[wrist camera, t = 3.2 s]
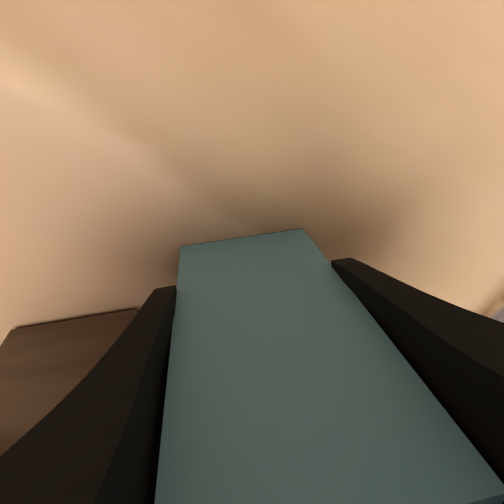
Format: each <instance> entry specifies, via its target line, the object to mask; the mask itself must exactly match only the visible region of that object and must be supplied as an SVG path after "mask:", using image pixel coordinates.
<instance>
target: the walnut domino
mask: <svg viewBox="0 0 504 504" xmlns="http://www.w3.org/2000/svg"><path fill="white" fill-rule="evenodd" d="M137 313H138V309H133V310H127V311H121V312H115V313H109V314H103V315H97V316H91V317H85V318H79V319H73V320H67V321H61V322H55V323H49V324H43V325H37V326H31V327H25V328H19V329H13V330H11V331H10V332H9V334H8V335H7V337H6V338H5V340H4V342H3V343H2V345H1V346H0V456H1V455H2V454H3V453H5V452H6V451H7V450H8V449H9V448H10V447H11V446H12V445H14V444H15V443H16V442H17V441H18V440H19V439H20V438H21V437H22V436H24V435H25V434H26V433H27V432H28V431H29V430H30V429H31V428H32V427H34V426H35V425H36V424H37V423H38V422H39V421H40V420H41V419H42V418H44V417H45V416H46V415H47V414H48V413H49V412H50V411H51V410H52V409H53V408H54V407H55V406H56V405H58V404H59V403H60V402H61V401H62V400H63V399H64V398H65V397H66V396H67V395H68V394H69V393H70V392H71V391H72V390H73V389H74V388H75V387H76V386H77V385H78V383H79V382H80V381H81V380H82V379H83V378H84V377H85V376H86V375H87V374H88V373H89V372H90V371H91V370H92V369H93V367H94V366H95V365H96V364H97V363H98V362H99V360H100V359H101V358H102V357H103V356H104V354H105V353H106V352H107V351H108V350H109V349H110V347H111V346H112V345H113V344H114V343H115V341H116V340H117V339H118V338H119V336H120V335H121V334H122V332H123V331H124V330H125V328H126V327H127V326H128V325H129V323H130V322H131V321H132V319H133V318H134V317H135V315H136V314H137Z"/></svg>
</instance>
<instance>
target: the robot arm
mask: <svg viewBox="0 0 504 504" xmlns="http://www.w3.org/2000/svg"><path fill="white" fill-rule="evenodd" d="M331 267H332V268H333V269H334V270H335V272H336V273H337V274H338V276H339V277H340V278H341V279H342V281H343V282H344V283H345V284H346V286H347V287H348V288H349V289H350V290H351V291H352V292H353V293H354V294H355V295H356V297H357V298H358V299H359V301H360V302H361V303H362V304H363V306H364V307H365V308H366V309H367V311H368V312H369V313H370V315H371V316H372V317H373V318H374V320H375V321H376V322H377V323H378V325H379V326H380V327H381V329H382V330H383V331H384V332H385V334H386V335H387V336H388V338H389V339H390V340H391V341H392V343H393V344H394V345H395V346H396V348H397V349H398V350H399V352H400V353H401V354H402V355H403V357H404V358H405V359H406V360H407V362H408V363H409V364H410V366H411V367H412V368H413V369H414V371H415V372H416V373H417V375H418V376H419V377H420V378H421V380H422V381H423V382H424V383H425V385H426V386H427V387H428V389H429V390H430V391H431V392H432V394H433V395H434V396H435V397H436V399H437V400H438V401H439V403H440V404H441V405H442V406H443V408H444V409H445V410H446V412H447V413H448V414H449V415H450V417H451V418H452V419H453V420H454V422H455V423H456V424H457V426H458V427H459V428H460V429H461V431H462V432H463V433H464V434H465V436H466V437H467V438H468V440H469V441H470V442H471V443H472V445H473V446H474V447H475V449H476V450H477V451H478V452H479V454H480V455H481V456H482V457H483V459H484V460H485V461H486V463H487V464H488V465H489V466H490V468H491V469H492V470H493V471H494V473H495V474H496V475H497V477H498V478H499V479H500V480H501V482H502V483H503V484H504V323H502V322H499V321H497V320H494V319H491V318H488V317H485V316H483V315H480V314H477V313H474V312H471V311H468V310H466V309H463V308H461V307H458V306H456V305H453V304H451V303H448V302H446V301H443V300H441V299H439V298H436V297H434V296H432V295H429V294H427V293H425V292H423V291H420V290H418V289H416V288H414V287H412V286H409V285H407V284H405V283H403V282H401V281H399V280H397V279H395V278H393V277H391V276H388V275H386V274H384V273H382V272H380V271H378V270H376V269H374V268H372V267H370V266H368V265H366V264H364V263H362V262H359V261H357V260H355V259H352V258H345V259H339V260H332V261H331ZM176 297H177V289H176V286H170V287H164V288H157V289H155V290H154V291H153V292H152V293H151V295H150V296H149V297H148V299H147V300H146V301H145V303H144V304H143V306H142V307H141V308H140V310H139V311H138V313H137V314H136V315H135V317H134V318H133V319H132V321H131V322H130V323H129V325H128V326H127V327H126V328H125V330H124V331H123V332H122V334H121V335H120V336H119V338H118V339H117V340H116V341H115V343H114V344H113V345H112V346H111V347H110V349H109V350H108V351H107V352H106V353H105V354H104V356H103V357H102V358H101V359H100V360H99V362H98V363H97V364H96V365H95V366H94V367H93V369H92V370H91V371H90V372H89V373H88V374H87V375H86V376H85V377H84V378H83V379H82V380H81V381H80V382H79V383H78V385H77V386H76V387H75V388H74V389H73V390H72V391H71V392H70V393H69V394H68V395H67V396H66V397H65V398H64V399H63V400H62V401H61V402H60V403H59V404H58V405H56V406H55V407H54V408H53V409H52V410H51V411H50V412H49V413H48V414H47V415H46V416H45V417H44V418H42V419H41V420H40V421H39V422H38V423H37V424H36V425H35V426H34V427H32V428H31V429H30V430H29V431H28V432H27V433H26V434H25V435H24V436H22V437H21V438H20V439H19V440H18V441H17V442H16V443H15V444H14V445H12V446H11V447H10V448H9V449H8V450H7V451H6V452H5V453H3V454H2V455H1V456H0V504H154V503H155V493H156V483H157V474H158V464H159V454H160V444H161V434H162V424H163V415H164V405H165V395H166V385H167V375H168V365H169V356H170V346H171V336H172V326H173V319H174V315H175V307H176ZM502 504H504V502H503V503H502Z"/></svg>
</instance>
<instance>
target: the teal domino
mask: <svg viewBox="0 0 504 504" xmlns="http://www.w3.org/2000/svg"><path fill="white" fill-rule="evenodd" d="M176 289H177V297H176V307H175V315H174V319H173V326H172V336H171V346H170V356H169V365H168V375H167V385H166V395H165V405H164V415H163V424H162V434H161V444H160V454H159V464H158V474H157V483H156V493H155V503H154V504H502V503H503V502H504V484H503V483H502V482H501V480H500V479H499V478H498V477H497V475H496V474H495V473H494V471H493V470H492V469H491V468H490V466H489V465H488V464H487V463H486V461H485V460H484V459H483V457H482V456H481V455H480V454H479V452H478V451H477V450H476V449H475V447H474V446H473V445H472V443H471V442H470V441H469V440H468V438H467V437H466V436H465V434H464V433H463V432H462V431H461V429H460V428H459V427H458V426H457V424H456V423H455V422H454V420H453V419H452V418H451V417H450V415H449V414H448V413H447V412H446V410H445V409H444V408H443V406H442V405H441V404H440V403H439V401H438V400H437V399H436V397H435V396H434V395H433V394H432V392H431V391H430V390H429V389H428V387H427V386H426V385H425V383H424V382H423V381H422V380H421V378H420V377H419V376H418V375H417V373H416V372H415V371H414V369H413V368H412V367H411V366H410V364H409V363H408V362H407V360H406V359H405V358H404V357H403V355H402V354H401V353H400V352H399V350H398V349H397V348H396V346H395V345H394V344H393V343H392V341H391V340H390V339H389V338H388V336H387V335H386V334H385V332H384V331H383V330H382V329H381V327H380V326H379V325H378V323H377V322H376V321H375V320H374V318H373V317H372V316H371V315H370V313H369V312H368V311H367V309H366V308H365V307H364V306H363V304H362V303H361V302H360V301H359V299H358V298H357V297H356V295H355V294H354V293H353V292H352V291H351V290H350V289H349V288H348V287H347V286H346V284H345V283H344V282H343V281H342V279H341V278H340V277H339V276H338V274H337V273H336V272H335V270H334V269H333V268H332V267H331V264H330V262H329V261H328V260H327V258H326V257H325V256H324V255H323V253H322V252H321V251H320V249H319V248H318V247H317V246H316V244H315V243H314V242H313V241H312V239H311V238H310V237H309V235H308V234H307V233H306V232H305V230H304V229H303V228H302V229H296V230H289V231H282V232H275V233H268V234H262V235H255V236H248V237H241V238H234V239H228V240H221V241H214V242H207V243H200V244H194V245H187V246H181V247H180V257H179V267H178V277H177V287H176Z"/></svg>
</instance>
